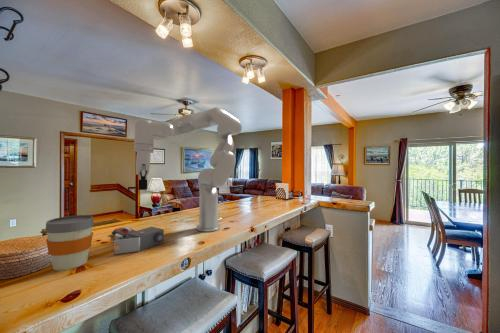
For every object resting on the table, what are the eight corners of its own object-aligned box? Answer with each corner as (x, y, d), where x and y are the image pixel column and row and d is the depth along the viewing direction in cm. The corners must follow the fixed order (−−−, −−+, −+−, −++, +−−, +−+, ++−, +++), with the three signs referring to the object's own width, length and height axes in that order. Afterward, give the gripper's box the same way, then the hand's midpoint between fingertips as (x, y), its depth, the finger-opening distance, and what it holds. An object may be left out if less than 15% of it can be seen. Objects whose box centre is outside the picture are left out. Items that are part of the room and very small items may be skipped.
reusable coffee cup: (84, 270, 69) (84, 222, 69) (35, 275, 65) (35, 225, 65) (99, 254, 81) (99, 214, 81) (58, 258, 77) (58, 216, 77)
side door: (114, 253, 81) (114, 239, 81) (140, 250, 85) (140, 237, 85) (113, 255, 80) (113, 240, 80) (139, 251, 83) (139, 238, 83)
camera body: (151, 238, 98) (151, 225, 98) (166, 242, 94) (166, 228, 93) (127, 247, 88) (127, 232, 88) (142, 251, 84) (142, 235, 84)
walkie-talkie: (106, 236, 102) (126, 246, 90) (106, 227, 102) (126, 235, 90) (126, 232, 109) (147, 240, 97) (126, 223, 109) (147, 230, 97)
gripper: (134, 149, 100) (133, 186, 100) (133, 146, 84) (132, 190, 84) (152, 150, 103) (151, 186, 103) (154, 148, 88) (153, 190, 88)
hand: (142, 188), depth 94 cm, fingers open, 9 cm apart
